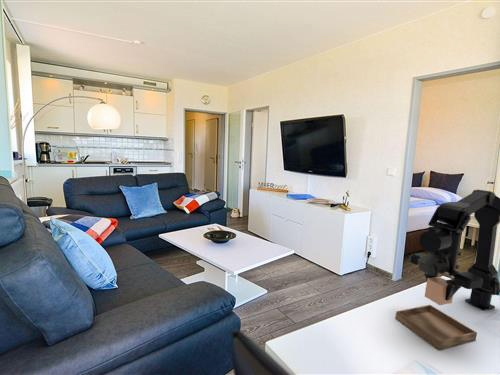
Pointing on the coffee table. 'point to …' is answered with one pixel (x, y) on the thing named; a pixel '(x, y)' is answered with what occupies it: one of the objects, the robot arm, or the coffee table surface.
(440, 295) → the terracotta block
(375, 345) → the coffee table surface
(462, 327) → the walnut tray
